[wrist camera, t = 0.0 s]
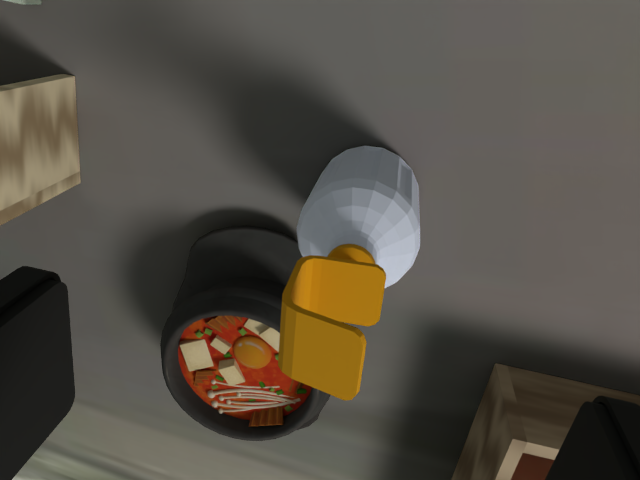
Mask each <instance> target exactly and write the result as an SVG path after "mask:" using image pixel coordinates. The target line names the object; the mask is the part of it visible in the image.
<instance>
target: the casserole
mask: <svg viewBox="0 0 640 480" xmlns="http://www.w3.org/2000/svg"><path fill="white" fill-rule="evenodd" d="M301 257H303V256H302V254H301V252H300V250H299V246H298V241H296V240H294V239H292V238H291V237H289V236H287V235H285V234H283V233H279V232H276V231H273V230H269V229H266V228H259V227H251V226H238V227H226V228H223V229H219V230H215V231H211V232H209V233H208V234H206V235H204V236H202V237H200V238H199V239H198V240H197V241H196V242H195V244H194V245H193V246H192V247H191V250H190V255H189V259H188V264H187V270H186V276H185V279H184V282H183V284H182V286H181V288H180V291H179V293H178V295H177V298H176V300H175V302H174V305H173V311H172V314H171V315H170V316H169V318H168V319H167V322H166V324H165V326H164V329H163V331H162V338H161V344H160V346H161V358H162V370H163V375H164V379H165V382H166V385H167V387H168V389H169V391H170V393H171V394H172V396H173V398H174V399H175V400H176V402H177V403H178V404H179V405H180V407H181V408H182V409H183V410H184V411H185V412H186V413H187V414H188V415H190V416H191V417H192V418H193V419H194V420H196V421H197V422H199V423H200V424H202V425H203V426H205V427H207V428H209V429H211V430H213V431H215V432H217V433H219V434H222V435H225V436H228V437H231V438H236V439H241V440H249V441H263V440H271V439H276V438H279V437H282V436H285V435H288V434H290V433H292V432H293V431H295V430H299V429H302V428H304V427H307V426H309V425H311V424H312V423H313V422H314V421H316V420H317V419H318V416H319V413H320V411H321V410H322V408H323V407H324V405H325V404H326V402H327V401H328V399H329V397H330V394H328V393H325V392H323V391H321V390H318V389H316V388H313V387H311V386H308V385H306V384H304V383H301V382H299V381H296V380H294V379H291V378H290V377H289V376H287V375H286V374H284V373H283V372H282V371H281V369H280V368H279V366H278V356H279V340H280V323H281V307H282V294H283V291H284V289H285V287H286V285H287V283H288V280H289V278H290V276H291V274H292V272H293V269H294V267H295V265H296V263H297V261H298V260H299V259H300V258H301ZM342 323H344V322H342Z"/></svg>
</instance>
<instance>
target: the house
mask: <svg viewBox="0 0 640 480" xmlns="http://www.w3.org/2000/svg"><path fill="white" fill-rule="evenodd" d="M553 462H554V460H552V459H548V458H544V457H539V456H535V455H531V454H527V453H522V456H521V458H520V460H519V462H518V464H517V467H516V469H515V471H514V473H513V475H512V478H511V480H545V478H546V476H547V474H548V472H549V470H550V468H551V466H552V464H553Z"/></svg>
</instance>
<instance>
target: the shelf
mask: <svg viewBox="0 0 640 480" xmlns="http://www.w3.org/2000/svg"><path fill="white" fill-rule="evenodd" d="M79 183H81V180H80V162H79V143H78V125H77V107H76V88H75V76H72V75H66V74H58V75H53V76H48V77H43V78H38V79H33V80H28V81H23V82H17V83H12V84H7V85H2V86H0V225H2V224H4V223H6V222H8V221H10V220H12V219H14V218H15V217H17V216H19V215H21V214H23V213H25V212H27V211H29V210H30V209H32V208H34V207H36V206H38V205H40V204H42V203H44V202H45V201H47V200H49V199H51V198H53V197H55V196H57V195H59V194H60V193H62V192H64V191H66V190H68V189H70V188H72V187H74V186H75V185H77V184H79Z"/></svg>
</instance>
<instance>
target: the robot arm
mask: <svg viewBox="0 0 640 480" xmlns="http://www.w3.org/2000/svg"><path fill="white" fill-rule="evenodd" d="M74 398H75V386H74V372H73V358H72V344H71V331H70V317H69V303H68V290H67V286H66V285H65V284H64V283H63V282H61V280H60V277H59V276H58V274H56V273H54V272H50V271H46V270H42V269H37V268H33V267H28V266H22V267H20V268H18V269H16V270H15V271H13V272H12V273H10V274H9V275H7V276H6V277H4V278H3V279H1V280H0V480H12V479H13V477H14V476H15V475H16V474H17V473H18V471H19V470H20V469H21V468H22V467H23V466H24V464H25V463H26V462H27V461H28V460H29V458H30V457H31V456H32V455H33V454H34V453H35V451H36V450H37V449H38V448H39V447H40V445H41V444H42V443H43V442H44V441H45V440H46V438H47V437H48V436H49V435H50V434H51V432H52V431H53V430H54V429H55V428H56V427H57V425H58V424H59V423H60V422H61V421H62V419H63V418H64V417H65V416H66V415H67V413H68V412H69V411H70V409H71V407H72V404H73V402H74ZM545 480H640V406H639V405H638V404H636V403H633V402H629V401H624V400H620V399H615V398H611V397H606V396H597V397H596V398H595V399H594V400H593V402H589V401H587V402H584V403H583V404H582V406H581V407H580V409H579V411H578V413H577V415H576V417H575V419H574V421H573V423H572V425H571V427H570V429H569V432H568V434H567V436H566V438H565V440H564V442H563V444H562V446H561V448H560V450H559V452H558V454H557V456H556V458H555V460H554V462H553V464H552V466H551V468H550V470H549V472H548V474H547V476H546V478H545Z"/></svg>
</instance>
